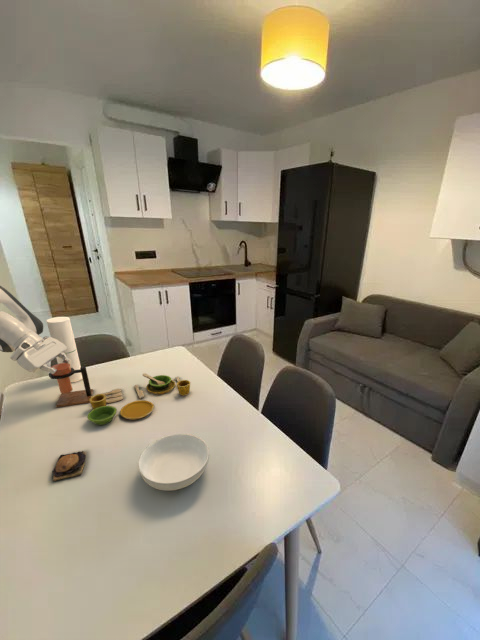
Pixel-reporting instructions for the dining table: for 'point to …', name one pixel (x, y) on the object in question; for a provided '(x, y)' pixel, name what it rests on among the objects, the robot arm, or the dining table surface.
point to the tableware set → (136, 408)
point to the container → (65, 342)
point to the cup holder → (75, 396)
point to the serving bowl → (173, 461)
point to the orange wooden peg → (65, 382)
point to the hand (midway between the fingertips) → (61, 367)
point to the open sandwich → (69, 465)
